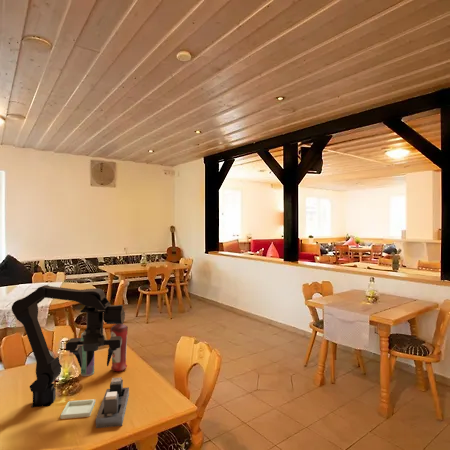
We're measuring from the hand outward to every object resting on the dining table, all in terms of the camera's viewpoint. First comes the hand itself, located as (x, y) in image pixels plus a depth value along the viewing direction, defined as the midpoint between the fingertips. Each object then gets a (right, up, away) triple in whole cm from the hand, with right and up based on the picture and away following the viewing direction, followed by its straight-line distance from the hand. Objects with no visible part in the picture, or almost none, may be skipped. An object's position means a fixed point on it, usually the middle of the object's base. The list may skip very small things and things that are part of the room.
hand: (94, 366), depth 125 cm
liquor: (0, -13, +28) cm, 31 cm away
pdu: (+9, -13, -6) cm, 17 cm away
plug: (+10, -12, -11) cm, 20 cm away
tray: (-3, -13, -7) cm, 15 cm away
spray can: (-12, -13, +24) cm, 30 cm away
